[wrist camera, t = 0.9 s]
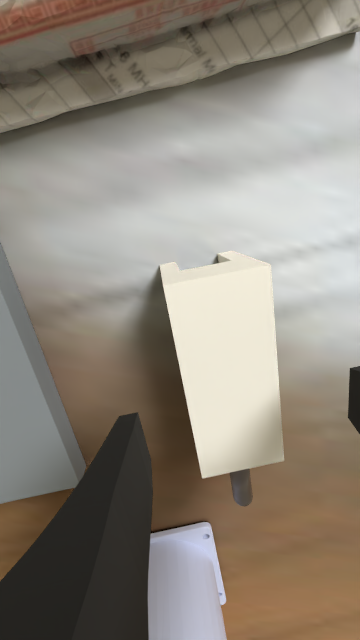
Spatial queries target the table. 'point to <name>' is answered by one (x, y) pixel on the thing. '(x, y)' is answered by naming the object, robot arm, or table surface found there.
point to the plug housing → (228, 364)
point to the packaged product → (143, 46)
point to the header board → (30, 408)
